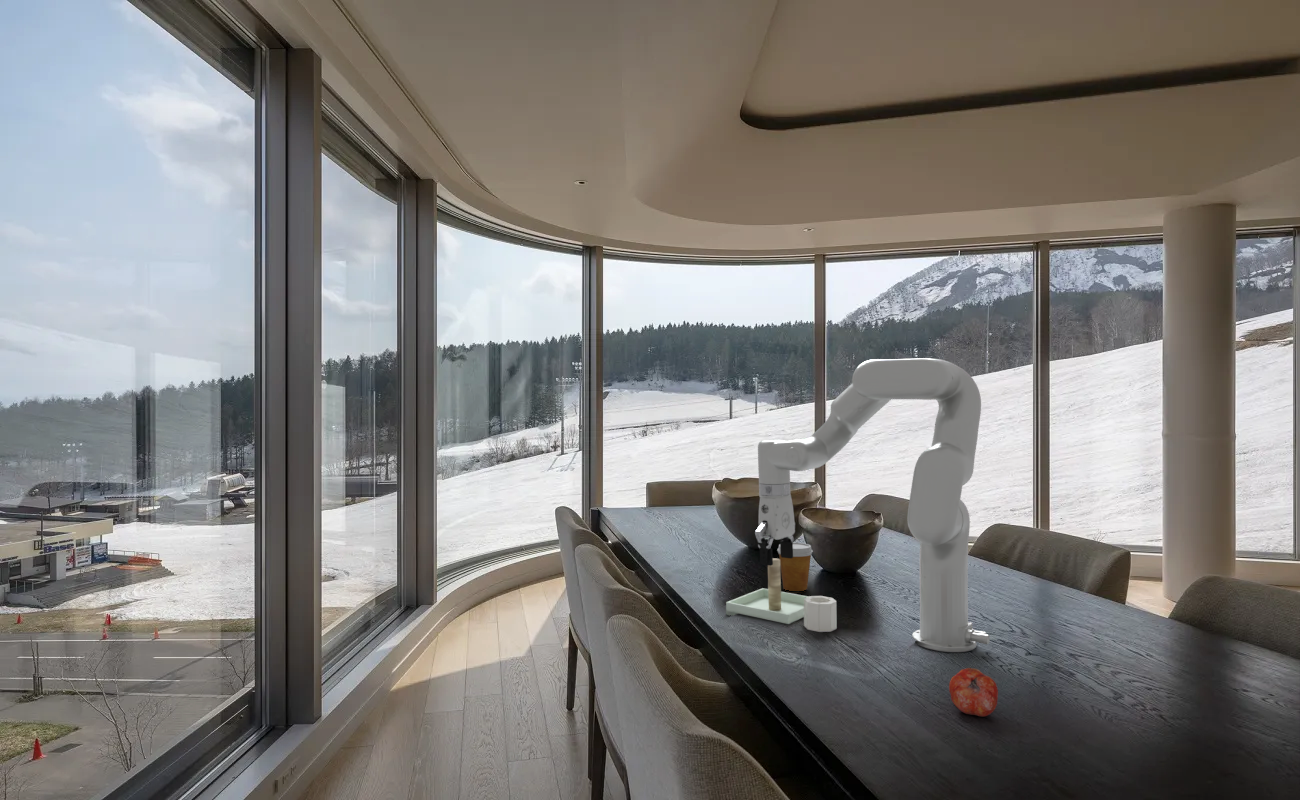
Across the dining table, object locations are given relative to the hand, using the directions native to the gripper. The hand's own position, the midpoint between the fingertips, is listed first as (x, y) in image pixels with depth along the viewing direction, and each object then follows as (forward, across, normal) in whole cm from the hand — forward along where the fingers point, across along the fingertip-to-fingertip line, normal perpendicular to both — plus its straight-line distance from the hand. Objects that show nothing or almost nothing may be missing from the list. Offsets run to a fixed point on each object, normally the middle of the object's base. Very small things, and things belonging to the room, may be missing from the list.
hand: (776, 561), depth 176 cm
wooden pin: (+12, 0, +1) cm, 12 cm away
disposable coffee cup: (+13, +23, +8) cm, 27 cm away
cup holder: (+13, -6, -14) cm, 20 cm away
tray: (+13, 0, +1) cm, 13 cm away
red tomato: (+14, -29, -53) cm, 62 cm away
